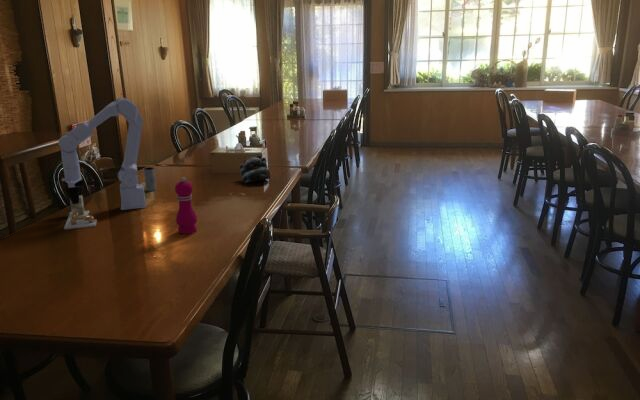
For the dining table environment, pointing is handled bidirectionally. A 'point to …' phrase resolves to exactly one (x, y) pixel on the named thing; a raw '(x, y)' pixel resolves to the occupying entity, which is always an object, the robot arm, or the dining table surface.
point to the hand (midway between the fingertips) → (76, 200)
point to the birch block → (78, 206)
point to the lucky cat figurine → (254, 169)
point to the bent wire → (80, 218)
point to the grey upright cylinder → (150, 179)
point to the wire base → (79, 224)
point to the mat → (79, 215)
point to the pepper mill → (185, 208)
